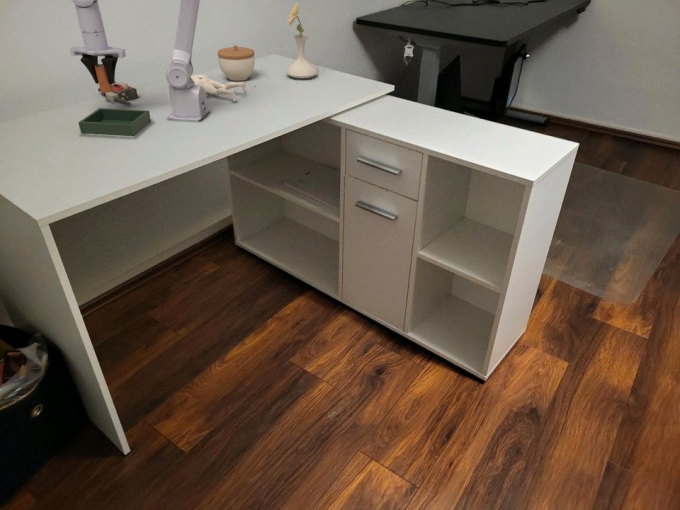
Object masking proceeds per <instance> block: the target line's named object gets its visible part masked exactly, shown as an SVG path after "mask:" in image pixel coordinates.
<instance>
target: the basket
mask: <svg viewBox="0 0 680 510" xmlns="http://www.w3.org/2000/svg"><path fill="white" fill-rule="evenodd" d="M151 122H152V119H151V114H150V110H145V109H128V108H127V109H126V108H125V109H124V108H107V107H106V108H103V107H99V108H97V109H96V110H94V111H92V112H91V113H90V114H88V115H87V116H85V117H84V118H82V119H81V120H80V121H78V122H77V123H78V127H79V130H80V134H83V135H84V134H85V135H102V136H103V135H104V136H121V137H135V136H136V135H137V134H138V133H139V132H141V131H142V130H143V129H144V128H145V127H147V126H148V125H149V124H150V123H151Z"/></svg>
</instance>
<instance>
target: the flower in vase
mask: <svg viewBox="0 0 680 510" xmlns="http://www.w3.org/2000/svg"><path fill="white" fill-rule="evenodd" d="M300 7H301V5H300V2H295V4H294V6H292V8H291V11H290V14H288V16H287V17H288V19H287V21H286V24H287V26H291V25H293V23H294V22H295V21H296V18H297V20H298V24H297V25H296V30H297V32H299V34H295V35H294V36H293V39H294V40H295V42H296V47H297V58H296V59H295V61H293V62H292V63H291V64H290V65H289V66H288V67H287V68H286V70H285V74H286V75H287V76H289V77H291V78H294V79H309V78H312V77H315V76H316V75H317V74H318V70H317V68H316V67H315V65H313V64H312V63H311V62H310V61H308V60H307V59H306V56H305V48H306V47H305V46H306V42H307V40H308V37H309V36H308V35H306V34H303V32H304V31H305V30H304V28H303V26H302V23H301V21H300V18H299V16H298V14H299V12H300Z"/></svg>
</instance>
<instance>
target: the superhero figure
mask: <svg viewBox="0 0 680 510" xmlns="http://www.w3.org/2000/svg"><path fill="white" fill-rule="evenodd" d="M191 78H192V79H193V81H194V82H195V85H198V86H202V87H203V88H204V90H205V96H206V98H208V97H209V96H208V95H209V94H210V95H213V96H220V95H230V97H231V99H232V101H233V102H234V103H236V102H237V96H236V91H235V89H232V88H237V87H241V89H242V91H243V93H244V94H247V93H248V88H247V86H246V82H245V81H237V82H236V81H229V82H227V83H226V84H224V83H222V82H220V81H219V80H218V81H217V80H213V79H211V78H210V77H208V76H206V75H204V74H203V73H200V74H194V75H193V74H192V75H191Z"/></svg>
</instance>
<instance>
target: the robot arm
mask: <svg viewBox="0 0 680 510" xmlns="http://www.w3.org/2000/svg"><path fill="white" fill-rule="evenodd" d="M200 1H201V0H180V2H179V3H180V4H179V11H178V19H177V25H176V33H175V39H174V46H173V53H172V56H171V61H170V65H169V66H168V68H167V69H166V71H165V79H166V82H167V83H168V91H169V96H170V102H171V108H172V114H170V115H169V116H168V119H179V120H180V119H183V120H197V121H201V120H203V118H204V117H205V116H206V115H207V114H208V113H209V110H208V103H207V97H206V96H207V95H205V94H206V93H205V90H204V88H203V87H202V86H198V85H195V82H194V81H193V79H192V78H191V75H193V73H194V65H193V64H192V57H193V48H194V47H193V46H194V41H195V40H194V39H195V34H196V27H197V20H198V16H199V15H198V13H199V9H200V8H199V7H200ZM71 2H72V3H73V4H74V7H75V12H76V16H77V21H78V25H79V28H80V32H81V36H82V40H83V45H84V46H72V47H71V46H70V48H69V51H70V56H72V57H76V56H81V58H80V62H81V63H82V65H83V66H84V67H85V68H86V70H88V72H89V74H90V76H91V77H92V79H93V81H94V83H95V84H96V85H99V83H98V79H97V74H96V70H95V65H97V64H99V57H103V58H101V59H100V62H101V64H103V66H104V68H105V71H106V74H107V79H108V82H109V84H113V83H115V81H116V77H115V76H116V68H117V63H118V60H119V58H120V59H123V58H125V57H127V53H126V49H125V48H118V47H112V46H109V44H108V39H107V36H106V30H105V26H104V22H103V18H102V13H101V11H100V5H99V0H71Z"/></svg>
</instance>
